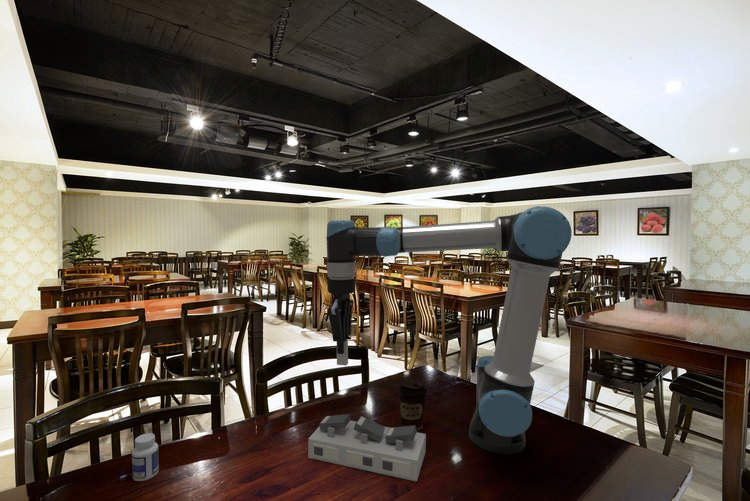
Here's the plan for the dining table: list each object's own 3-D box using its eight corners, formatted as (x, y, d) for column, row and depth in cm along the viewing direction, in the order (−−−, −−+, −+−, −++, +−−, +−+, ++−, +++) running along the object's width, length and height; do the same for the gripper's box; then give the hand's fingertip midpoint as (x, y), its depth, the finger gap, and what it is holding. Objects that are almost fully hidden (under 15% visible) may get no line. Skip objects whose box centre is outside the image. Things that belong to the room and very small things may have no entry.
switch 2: (382, 435, 97) (385, 426, 97) (377, 445, 92) (380, 436, 92) (358, 423, 99) (361, 414, 99) (352, 433, 94) (354, 424, 94)
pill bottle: (153, 464, 91) (153, 429, 90) (162, 473, 87) (162, 436, 87) (128, 475, 86) (128, 438, 86) (137, 485, 83) (136, 446, 83)
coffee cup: (425, 435, 105) (426, 391, 105) (396, 432, 107) (397, 388, 106) (427, 420, 114) (428, 379, 113) (400, 417, 116) (401, 376, 115)
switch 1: (351, 422, 99) (349, 413, 100) (344, 432, 95) (342, 422, 95) (328, 424, 102) (326, 415, 102) (320, 434, 97) (318, 424, 97)
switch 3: (417, 434, 94) (415, 424, 94) (414, 445, 89) (411, 434, 89) (392, 436, 96) (389, 426, 96) (387, 447, 91) (384, 436, 92)
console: (425, 452, 97) (426, 425, 97) (416, 482, 85) (417, 452, 85) (327, 433, 106) (328, 408, 105) (307, 458, 94) (307, 431, 93)
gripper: (337, 274, 107) (338, 355, 108) (318, 280, 94) (319, 371, 95) (362, 275, 105) (363, 357, 106) (345, 281, 92) (347, 374, 93)
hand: (342, 364), depth 100 cm, fingers closed
